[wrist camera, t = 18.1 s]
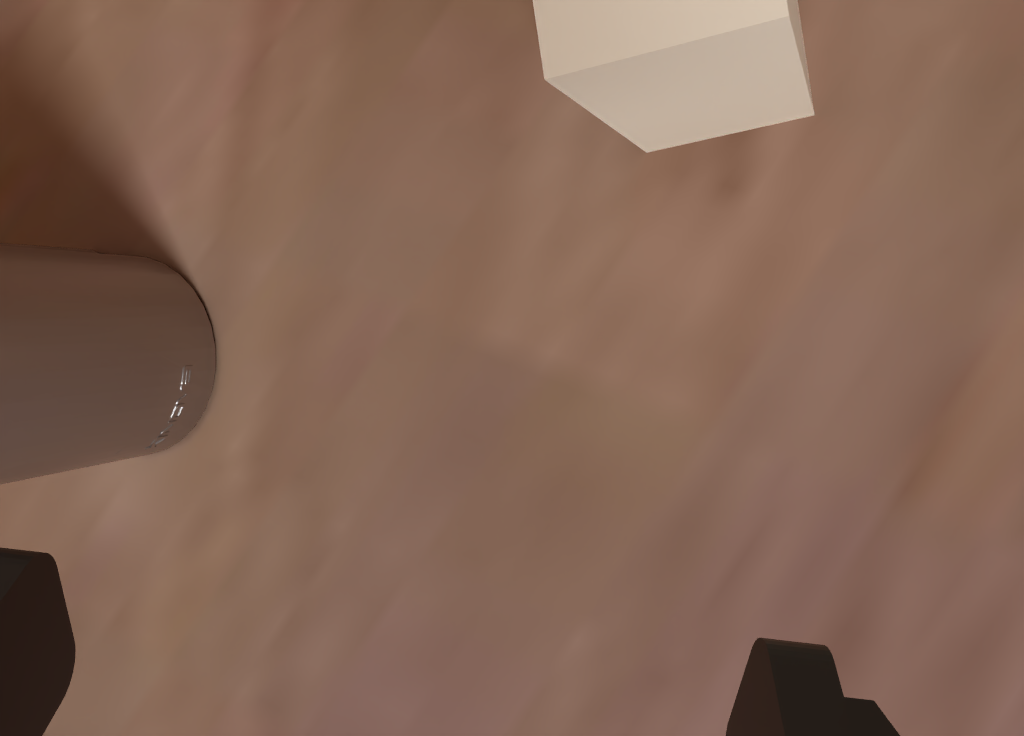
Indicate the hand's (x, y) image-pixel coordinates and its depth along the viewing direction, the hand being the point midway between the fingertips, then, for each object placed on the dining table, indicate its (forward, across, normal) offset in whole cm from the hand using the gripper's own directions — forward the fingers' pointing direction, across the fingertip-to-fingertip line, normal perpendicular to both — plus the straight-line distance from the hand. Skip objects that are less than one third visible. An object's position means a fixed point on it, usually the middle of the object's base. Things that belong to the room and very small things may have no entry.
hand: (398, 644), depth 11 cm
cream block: (+28, -7, -1) cm, 29 cm away
